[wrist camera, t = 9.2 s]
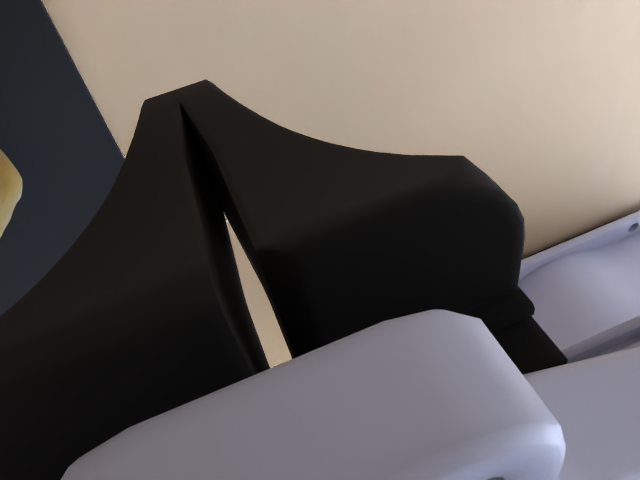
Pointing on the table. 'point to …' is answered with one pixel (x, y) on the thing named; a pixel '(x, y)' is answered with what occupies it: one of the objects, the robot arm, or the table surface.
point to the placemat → (47, 148)
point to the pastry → (8, 190)
